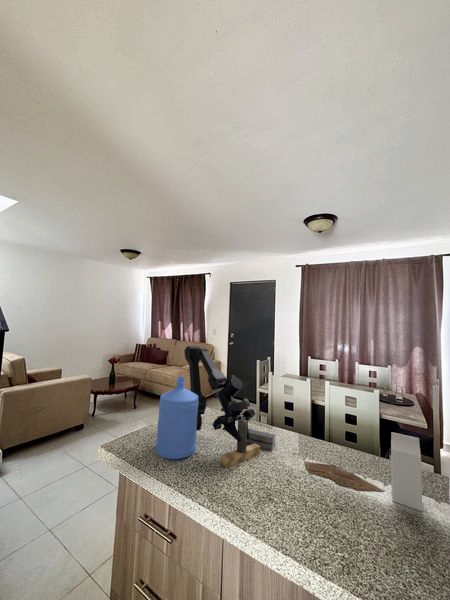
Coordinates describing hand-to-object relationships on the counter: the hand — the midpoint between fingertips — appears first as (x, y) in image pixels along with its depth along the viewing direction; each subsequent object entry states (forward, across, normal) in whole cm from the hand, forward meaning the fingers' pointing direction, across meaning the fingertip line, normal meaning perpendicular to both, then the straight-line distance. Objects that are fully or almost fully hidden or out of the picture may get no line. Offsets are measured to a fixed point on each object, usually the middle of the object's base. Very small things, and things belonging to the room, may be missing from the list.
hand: (244, 440), depth 95 cm
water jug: (-9, -18, +20) cm, 28 cm away
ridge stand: (+1, +15, +9) cm, 18 cm away
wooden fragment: (+24, +22, -14) cm, 35 cm away
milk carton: (+36, +27, -26) cm, 52 cm away
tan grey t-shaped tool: (+4, 0, +6) cm, 7 cm away
